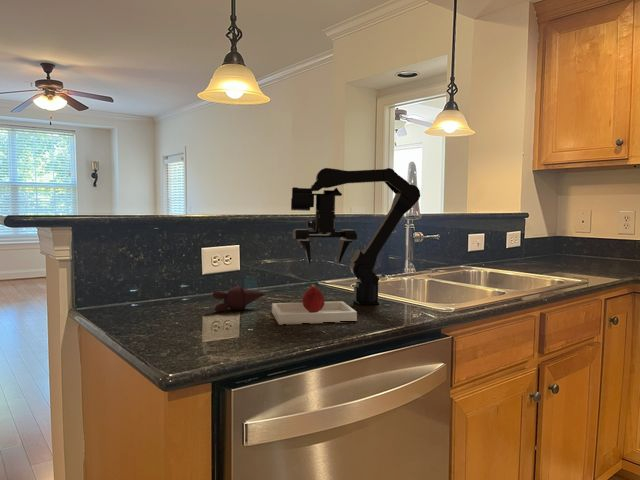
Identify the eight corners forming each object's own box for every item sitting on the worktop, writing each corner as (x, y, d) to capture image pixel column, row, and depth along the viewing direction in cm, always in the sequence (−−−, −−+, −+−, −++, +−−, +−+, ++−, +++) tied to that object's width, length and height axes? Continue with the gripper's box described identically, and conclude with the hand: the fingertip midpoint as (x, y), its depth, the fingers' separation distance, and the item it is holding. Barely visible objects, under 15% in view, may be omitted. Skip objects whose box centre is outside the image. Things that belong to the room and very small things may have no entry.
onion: (327, 313, 126) (327, 283, 126) (320, 318, 121) (320, 287, 120) (306, 311, 128) (307, 282, 128) (299, 315, 123) (299, 285, 122)
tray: (342, 310, 133) (342, 301, 133) (356, 321, 121) (356, 312, 120) (271, 312, 129) (272, 303, 128) (278, 324, 116) (279, 314, 116)
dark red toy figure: (258, 282, 138) (208, 290, 131) (267, 280, 132) (214, 288, 125) (262, 306, 138) (211, 315, 131) (271, 304, 131) (219, 314, 124)
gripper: (347, 210, 150) (346, 259, 152) (289, 209, 146) (289, 260, 147) (358, 211, 140) (357, 264, 141) (296, 210, 135) (295, 264, 137)
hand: (324, 263), depth 142 cm, fingers open, 9 cm apart
